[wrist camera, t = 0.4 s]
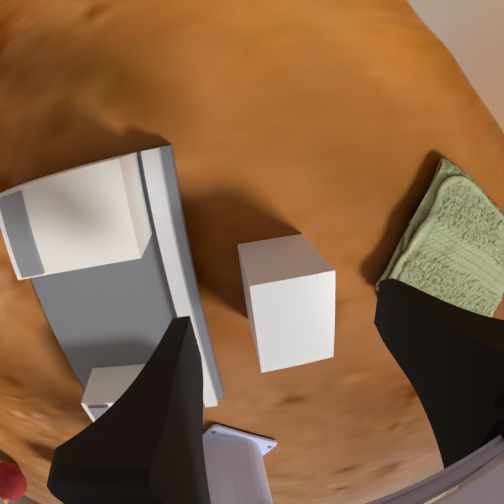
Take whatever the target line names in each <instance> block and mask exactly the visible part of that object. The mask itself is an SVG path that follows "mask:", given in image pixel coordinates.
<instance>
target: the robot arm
mask: <svg viewBox="0 0 504 504" xmlns="http://www.w3.org/2000/svg"><path fill="white" fill-rule="evenodd" d="M374 323H375V325H376V327H377V330H378V332H379V334H380V336H381V338H382V340H383V342H384V343H385V345H386V346H387V348H388V349H389V351H390V352H391V354H392V355H393V357H394V358H395V360H396V361H397V363H398V364H399V366H400V367H401V369H402V370H403V372H404V373H405V375H406V376H407V378H408V379H409V381H410V382H411V384H412V385H413V387H414V389H415V391H416V393H417V395H418V397H419V399H420V401H421V403H422V405H423V407H424V410H425V412H426V414H427V417H428V419H429V421H430V424H431V426H432V429H433V432H434V435H435V438H436V441H437V443H438V447H439V450H440V454H441V457H442V461H443V465H444V469H443V470H442V471H440V472H438V473H436V474H434V475H432V476H430V477H428V478H426V479H424V480H422V481H419V482H417V483H415V484H413V485H411V486H409V487H406V488H404V489H402V490H399V491H397V492H395V493H392V494H390V495H387V496H385V497H382V498H379V499H377V500H374V501H371V502H369V503H366V504H423V503H425V502H427V501H429V500H431V499H433V498H435V497H437V496H439V495H441V494H442V493H444V492H446V491H448V490H450V489H451V488H453V487H455V486H456V485H458V484H460V483H461V484H460V485H459V487H458V488H457V490H455V491H453V492H452V493H450V494H448V495H446V496H444V497H442V498H441V499H439V500H437V501H435V502H433V503H431V504H504V320H501V319H496V318H492V317H488V316H484V315H481V314H478V313H474V312H471V311H468V310H465V309H463V308H460V307H457V306H455V305H453V304H450V303H448V302H445V301H443V300H441V299H439V298H436V297H434V296H432V295H430V294H428V293H426V292H423V291H421V290H419V289H417V288H415V287H413V286H411V285H409V284H406V283H404V282H402V281H399V280H397V279H394V278H390V279H386V280H381V281H379V289H378V298H377V306H376V314H375V321H374ZM202 422H203V369H202V359H201V354H200V351H199V347H198V344H197V340H196V337H195V333H194V329H193V326H192V322H191V318H190V316H184V317H177V318H173V319H172V320H171V322H170V324H169V326H168V328H167V329H166V331H165V333H164V335H163V337H162V338H161V340H160V342H159V344H158V345H157V347H156V349H155V350H154V352H153V354H152V355H151V357H150V358H149V360H148V361H147V363H146V364H145V366H144V367H143V369H142V370H141V372H140V373H139V375H138V376H137V377H136V379H135V380H134V381H133V382H132V384H131V385H130V386H129V387H128V389H127V390H126V391H125V392H124V393H123V394H122V396H121V397H120V398H119V399H118V400H117V401H116V402H115V403H114V404H113V405H112V406H111V407H110V408H109V409H108V410H107V411H106V412H105V413H103V414H102V415H101V416H100V417H99V418H98V419H97V420H95V421H94V422H93V423H92V424H90V425H89V426H88V427H87V428H85V429H84V430H83V431H81V432H80V433H79V434H77V435H76V436H74V437H73V438H71V439H70V440H68V441H66V442H65V443H63V444H62V445H60V446H59V447H57V448H56V450H55V453H54V456H53V460H52V464H51V468H50V473H49V477H48V482H47V487H48V489H49V490H50V492H51V493H52V494H53V495H54V496H55V497H56V498H57V499H59V500H60V501H62V502H63V503H64V504H273V502H272V498H271V493H270V489H269V484H268V480H267V475H266V471H265V466H264V462H263V457H262V456H263V455H265V454H266V453H267V452H269V451H270V450H271V449H272V448H274V447H275V446H276V445H277V441H276V440H272V439H268V438H264V437H260V436H256V435H253V434H249V433H245V432H242V431H238V430H235V429H231V428H228V427H225V426H222V425H218V424H214V425H212V426H211V427H210V428H209V429H208V430H207V431H206V432H205V433H204V434H203V435H202ZM463 481H464V482H463Z"/></svg>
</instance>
